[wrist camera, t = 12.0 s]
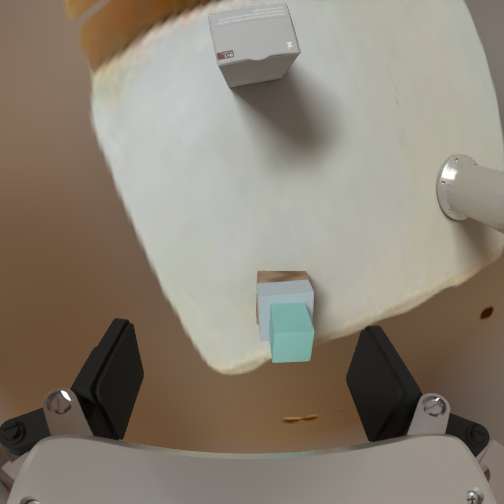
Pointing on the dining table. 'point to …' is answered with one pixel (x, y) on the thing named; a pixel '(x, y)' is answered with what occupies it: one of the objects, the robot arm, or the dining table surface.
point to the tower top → (282, 300)
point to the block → (290, 332)
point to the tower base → (279, 279)
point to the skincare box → (254, 43)
